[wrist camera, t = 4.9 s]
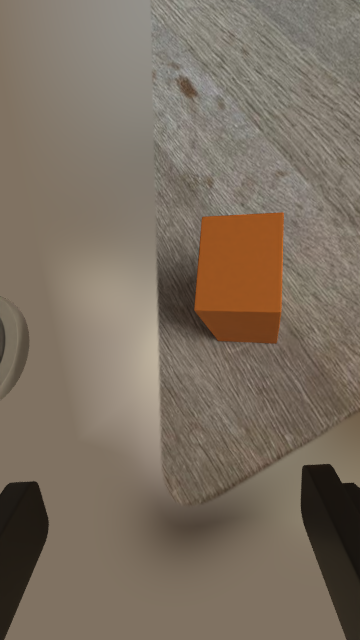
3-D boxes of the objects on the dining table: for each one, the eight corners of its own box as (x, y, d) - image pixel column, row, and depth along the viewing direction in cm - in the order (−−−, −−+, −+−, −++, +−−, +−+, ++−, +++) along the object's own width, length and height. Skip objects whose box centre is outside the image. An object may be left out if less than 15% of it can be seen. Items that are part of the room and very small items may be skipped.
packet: (217, 340, 23) (193, 310, 16) (222, 274, 24) (201, 216, 17) (276, 343, 22) (281, 312, 15) (278, 273, 23) (283, 211, 16)
